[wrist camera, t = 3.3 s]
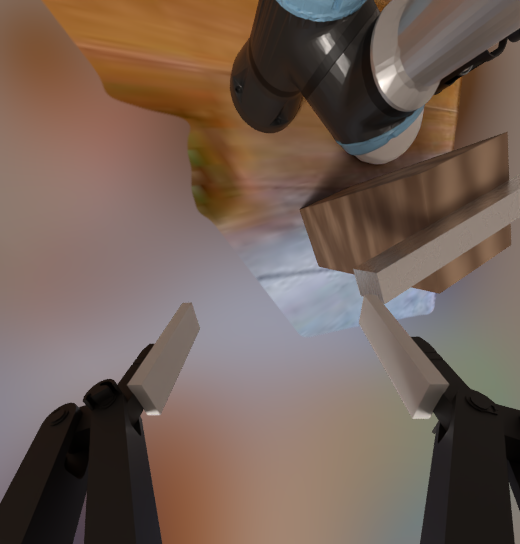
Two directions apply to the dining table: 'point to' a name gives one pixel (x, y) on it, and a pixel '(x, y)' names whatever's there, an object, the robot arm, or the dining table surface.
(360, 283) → the metal bar
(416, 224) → the walnut stand
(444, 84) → the french press
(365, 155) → the plate
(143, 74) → the dining table surface
